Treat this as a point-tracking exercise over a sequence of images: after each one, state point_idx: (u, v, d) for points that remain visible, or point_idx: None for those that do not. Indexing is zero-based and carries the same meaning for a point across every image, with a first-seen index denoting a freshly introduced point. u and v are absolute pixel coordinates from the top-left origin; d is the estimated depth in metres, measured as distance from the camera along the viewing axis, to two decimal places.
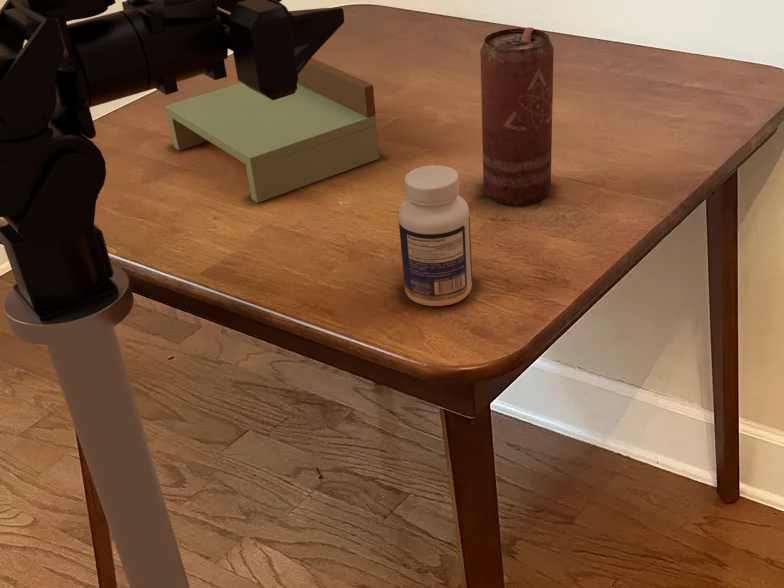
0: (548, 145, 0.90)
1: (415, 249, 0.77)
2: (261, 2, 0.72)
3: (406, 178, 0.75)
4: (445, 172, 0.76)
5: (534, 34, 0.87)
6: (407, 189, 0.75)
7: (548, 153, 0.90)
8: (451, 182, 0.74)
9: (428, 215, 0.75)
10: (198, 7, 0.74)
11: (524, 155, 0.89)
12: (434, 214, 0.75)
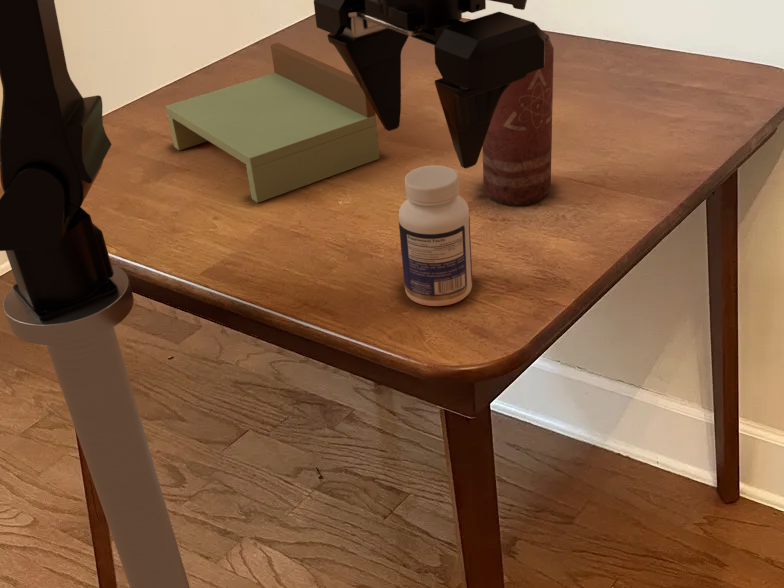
0: (548, 145, 0.90)
1: (415, 249, 0.77)
2: None
3: (406, 178, 0.75)
4: (445, 172, 0.76)
5: None
6: (407, 189, 0.75)
7: (548, 153, 0.90)
8: (451, 182, 0.74)
9: (427, 215, 0.75)
10: None
11: (524, 155, 0.89)
12: (434, 214, 0.75)
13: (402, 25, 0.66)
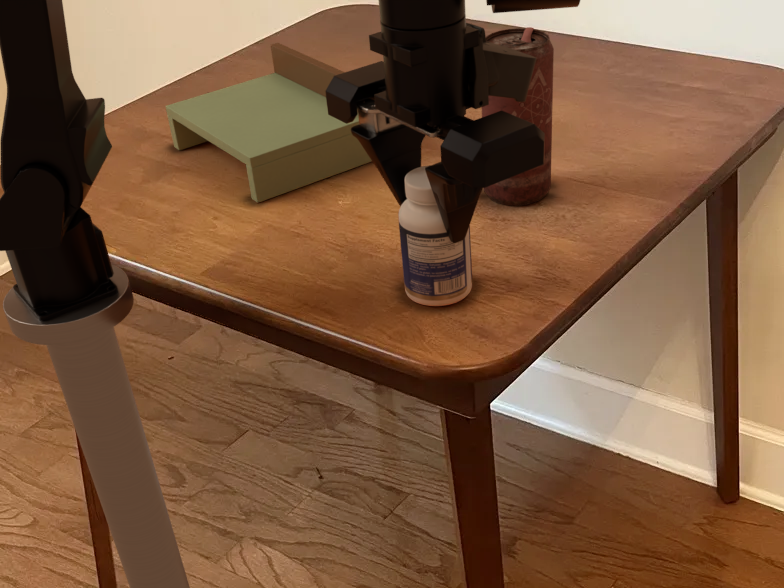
0: (548, 145, 0.90)
1: (415, 249, 0.77)
2: None
3: (406, 178, 0.75)
4: None
5: (534, 34, 0.87)
6: (407, 189, 0.75)
7: (548, 153, 0.90)
8: None
9: (427, 214, 0.75)
10: (483, 85, 0.70)
11: None
12: (434, 214, 0.75)
13: (410, 123, 0.70)
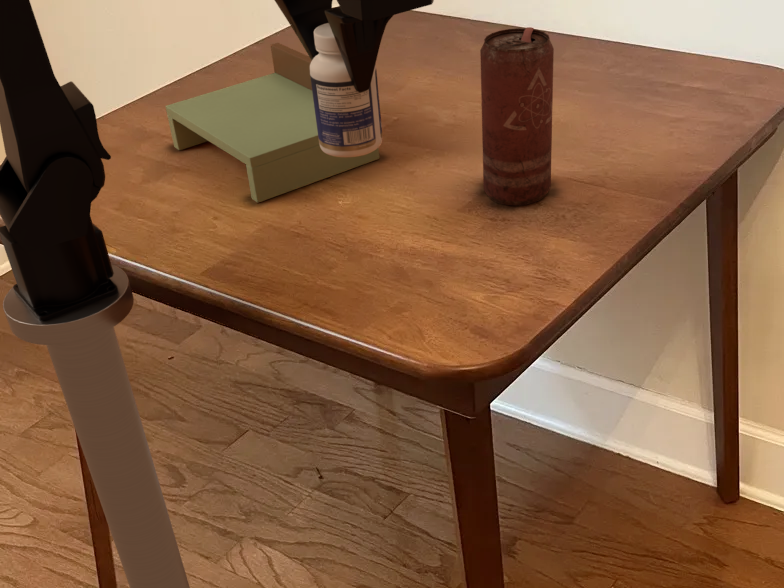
0: (548, 145, 0.90)
1: (324, 99, 0.82)
2: None
3: (315, 30, 0.81)
4: None
5: (534, 34, 0.87)
6: (315, 40, 0.80)
7: (548, 153, 0.90)
8: None
9: (334, 64, 0.80)
10: None
11: (524, 155, 0.89)
12: (340, 63, 0.80)
13: None
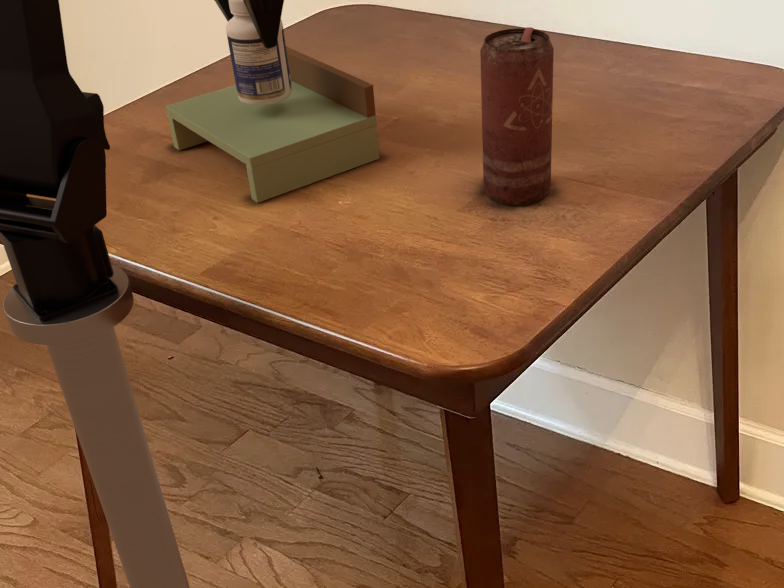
0: (548, 145, 0.90)
1: (238, 54, 0.97)
2: None
3: None
4: None
5: (534, 34, 0.87)
6: (229, 3, 0.95)
7: (548, 153, 0.90)
8: None
9: (245, 24, 0.95)
10: None
11: (524, 155, 0.89)
12: (251, 23, 0.95)
13: None
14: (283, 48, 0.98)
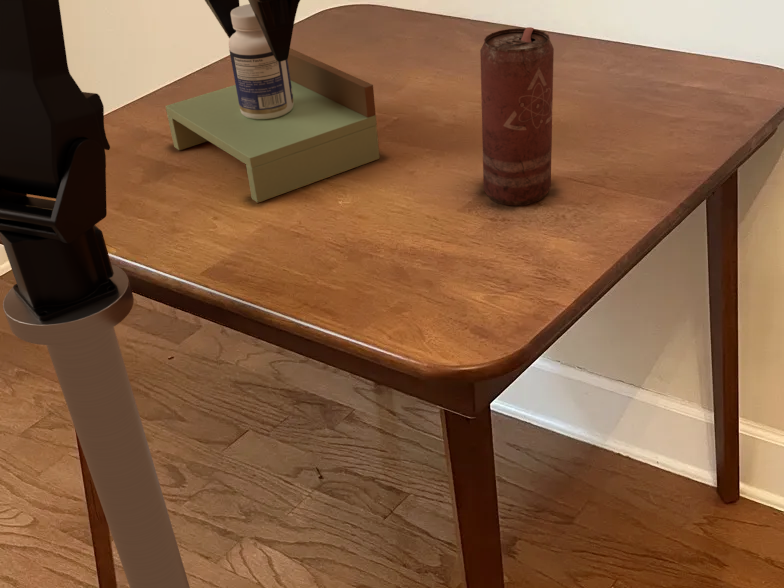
0: (548, 145, 0.90)
1: (241, 69, 0.97)
2: None
3: (231, 11, 0.96)
4: None
5: (534, 34, 0.87)
6: (232, 19, 0.96)
7: (548, 153, 0.90)
8: None
9: (248, 39, 0.96)
10: None
11: (524, 155, 0.89)
12: (253, 39, 0.96)
13: None
14: (285, 63, 0.98)
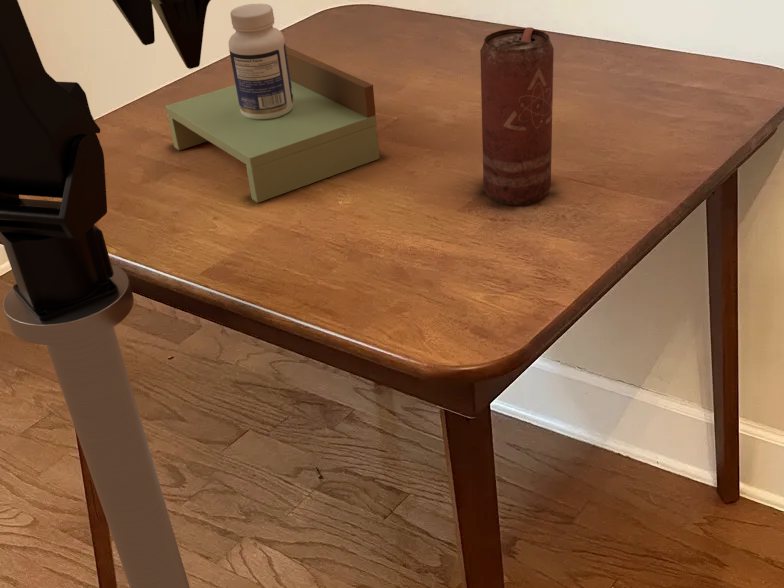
0: (548, 145, 0.90)
1: (241, 69, 0.97)
2: None
3: (231, 11, 0.96)
4: (262, 7, 0.96)
5: (534, 34, 0.87)
6: (232, 19, 0.96)
7: (548, 153, 0.90)
8: (264, 12, 0.95)
9: (248, 39, 0.96)
10: None
11: (524, 155, 0.89)
12: (253, 39, 0.96)
13: None
14: (285, 63, 0.98)
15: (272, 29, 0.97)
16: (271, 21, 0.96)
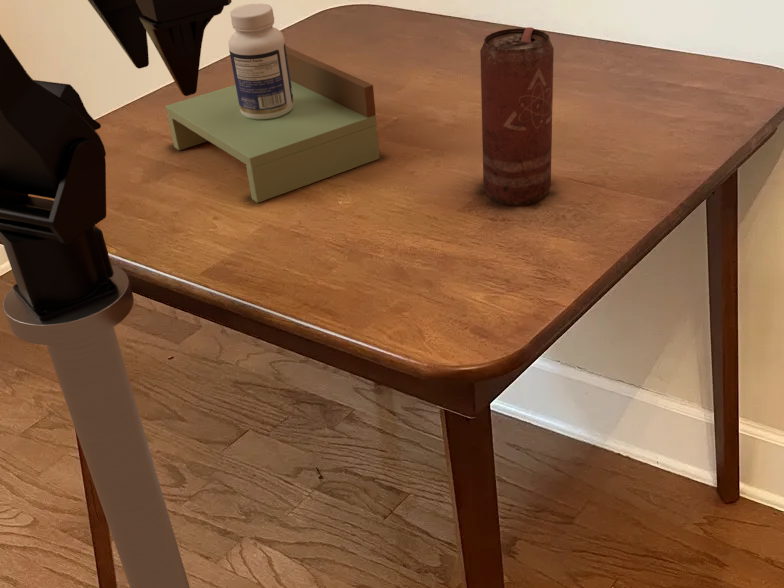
0: (548, 145, 0.90)
1: (241, 69, 0.97)
2: None
3: (231, 11, 0.96)
4: (262, 7, 0.96)
5: (534, 34, 0.87)
6: (231, 19, 0.96)
7: (548, 153, 0.90)
8: (264, 12, 0.95)
9: (248, 39, 0.96)
10: None
11: (524, 155, 0.89)
12: (253, 39, 0.96)
13: None
14: (285, 63, 0.98)
15: (272, 29, 0.97)
16: (271, 21, 0.96)
